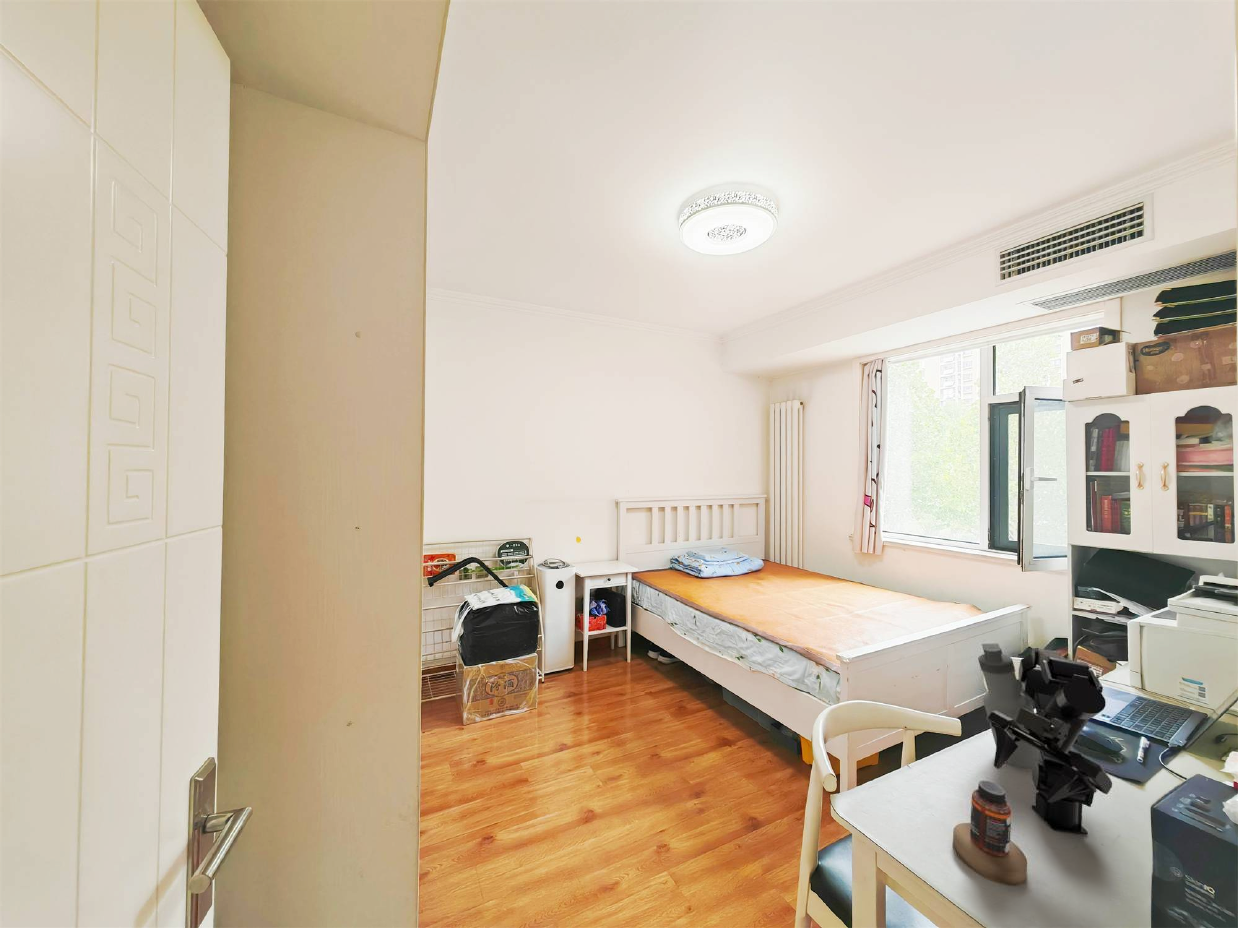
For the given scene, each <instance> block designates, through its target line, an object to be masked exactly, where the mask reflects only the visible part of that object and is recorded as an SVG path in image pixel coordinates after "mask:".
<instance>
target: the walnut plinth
mask: <svg viewBox="0 0 1238 928" xmlns="http://www.w3.org/2000/svg"><path fill="white" fill-rule="evenodd" d="M970 824H971V822H961V823H958V824H956V825H955V826H954V827H953V829H952V831H953V832H952V833H953V834H952V847H953V850H954V852H955V855H957V856H958V858H959V859H960V861H962V862H963V863H964V864H965V865H966V866H967V867H968V868H970V869H971V870H972V871H974V872H975V873H977V874H979V875H980V876H982V877H984V878H985V879H988V880H990V881H992V882H994V883H998V884H1001V885H1006V886H1019V885H1022V884H1024V883H1025V882H1026V880H1027V877H1028V876H1027V875H1028V860H1027V857H1026V855H1025V854H1024V852H1023V851H1022V850H1021V848H1020V847H1019V846H1018V845H1017V844H1016V843H1014V842H1013V841H1012V840H1011V839H1010V850H1009V854H1008V855H1007V856H1004V857H998V856H994V855H991V854H989V853H987V852H985V851H983V850H982V849H980V848H979V847H978V846H977V845H976V844H975V843H974V842H973V841H972V839H971V836H970Z"/></svg>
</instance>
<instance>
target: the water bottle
mask: <svg viewBox="0 0 1238 928" xmlns="http://www.w3.org/2000/svg"><path fill="white" fill-rule="evenodd" d="M981 646H982V650H983V654H981V655H979V656H978V658H977V659H978V663H979V668H980V670H981V671H982V674H983V677H984V681H985V685H986V687H987V691H986V693H985V694H984V695H983V697H982V698H983V704H984V708H985V711H986V715H987V716H988V715H989V713H990V712H992V711H998V712H1000V713H1002V714H1004V715H1006V716H1007V717H1009V718H1011V719H1013V720H1014V721H1015V719H1016V716H1017V713H1018V711H1019V708H1020V707H1022V708H1024V709H1026V710H1029V711H1031V712H1033V713H1035V709H1034V707H1033V703H1032V701H1031V699H1030V697H1029V696H1028V695H1027V696H1026V695H1025V694H1024V693H1022V692H1021V691H1020V690H1021V689H1020V686H1019V683H1018V682H1019V681H1018V680H1017V679H1018V678H1017V676H1016V669H1015V665H1014V661H1013V658H1012V656H1010V655H1007V654H1004V653H1003V651H1002V648H1001V647H1000V645H999V643H997V642H995V643H982V644H981ZM987 716H986V717H987ZM1016 724H1017V725H1018V726H1019V727H1020V728H1021V730H1023V731H1025V732H1027V733H1029V731H1028V730H1026V729H1025V728H1024V727H1023V726H1024V725H1020V724H1018V723H1016ZM989 726H990V729H991V733H992V737H993V740H994V744H995V746H996V745H997V736H996V732H995V731H994V729H993V728H992V727H991V724H990V723H989ZM1034 742H1035V741H1034ZM1015 743H1016V744H1017V745H1018V748H1017V749H1016V750H1015V751H1014V752H1013V754H1012V755H1011V756H1010V757H1009V758H1008V760H1007V761H1006V762H1005V763H1008V764H1010V765H1011V766H1015V767H1019V768H1024V769H1032V767H1033V765H1034V763H1035V762H1036V760H1037V761H1038V759H1039V754H1040V750H1038V749H1037V748H1035V747H1033V746H1031V745H1029V744H1028V743H1026V742H1024V741H1022V740H1021V741H1018V742H1015ZM1035 743H1036V742H1035ZM1036 744H1038V743H1036ZM1038 745H1040V744H1038ZM1040 746H1041V745H1040Z"/></svg>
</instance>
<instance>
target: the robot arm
mask: <svg viewBox="0 0 1238 928" xmlns="http://www.w3.org/2000/svg"><path fill="white" fill-rule="evenodd" d="M1017 675H1018V682H1019V683H1022V688H1023V692H1024V693H1025V694H1026V695H1027V697H1028V698H1031V699H1032V700H1033V702H1034V705H1035V712H1034V713H1033V712H1031V711H1029V710H1026V709H1024V708H1022V707H1020V708H1019V711H1018V713H1017V716H1016V719H1015V721H1014V720H1013V719H1011V718H1009V717H1007V716H1006V715H1004V714H1002V713H1000V712H998V711H992V712H990V713H989V715H988V716H986V718H985V719H986V721H987V722H989V725H990V724H991V726H990V728H991V727H992V728H993V729H994V731H995V732H996V736H997V745H996V744H995V753H994V754H995V755H994V762H993V766H994V767H995V769H997V770H998V769H1000V768H1001V767H1003V766H1004V764H1006V763H1007V762H1006V761H1007V760H1008V758H1009V757H1010V756H1011V755H1012V754H1013V752H1014V751H1015V750H1016V749H1017V748H1018V745H1017V744H1016V743H1015V742H1018V741H1021V740H1022V741H1024V742H1026V743H1028V744H1029V745H1031V746H1033V747H1035V748H1037V749H1038V750H1040V754H1039V759H1038V761H1037V760H1036V762H1035V763H1034V765H1033V767H1032V768H1031V780H1032V782H1033V784H1034V788H1035V790H1036V791H1037V792H1036V793H1035V801H1034V802H1035V803H1034V804H1031V809H1032V810H1033V811H1034V812H1035V813H1036V814H1037V815H1038V816H1039V817H1040V819H1042V820H1043V821H1044V822H1045V823H1046V824H1047V826H1049V827H1050V829H1052V830H1053V831H1056V832H1057V831H1058V832H1064V833H1072V834H1073V833H1074V834H1080V835H1088V834H1089V831H1088V830H1087V829H1086V828H1085V827H1084V826H1083V825H1082V824H1083V823H1082V822H1083V806H1086V807H1088V808H1092V807H1091V806H1092V804H1093V801H1094V795H1095V794H1096V793H1097V791H1099V792H1101V793H1103V794H1104V795H1108V794H1109V792H1110V791H1111V789H1112V788H1113V782H1112V780H1111V778H1110V776H1109V774H1107V772H1106V771H1105V770H1104V768H1103V767H1102V766H1101V765H1100V764H1098V763H1096V762H1095V761H1092V760H1091V759H1089V758H1087V757H1086V756H1082V754H1081V753H1080V752H1078V751H1073V750H1072V749H1071V748H1072V747H1073V745H1074V744H1075V742H1076V743H1078V744H1079V743H1081V741H1082V738H1081V736H1080V734H1081V732H1082V731H1083V730H1084V728H1085V726H1086V725H1087V723H1088V722H1089V720H1090V719H1092V718H1094V717H1096V716H1097V715H1098V714H1100V713H1101V712H1103V710H1104V709H1105V707H1106V706H1107V705H1106V703H1107V702H1106V698H1105V697H1104V695H1103V688H1104V686H1103V685H1102V683H1101V681H1100V680H1099V678H1098V677H1097V676H1096V674H1095V672H1094V670H1093V669H1091V668H1090V666H1089V665H1088V664H1087V662H1083V661H1078V660H1072V659H1067V658H1065V657H1063V655H1062V654H1061V653H1059V652H1058V651H1054V650H1049V649H1043V648H1038V647H1037V648H1032V650H1031V654H1029V655H1027V656H1025V657H1023V658H1021V659H1020V662H1019V667H1018V674H1017ZM1016 723H1018V724H1020V725H1024V726H1023V727H1024V728H1025V729H1026V730H1028V731H1029V733H1027V732H1025V731H1023V730H1021V728H1020V727H1019V726H1018V725H1017V724H1016ZM1034 741H1035V742H1036V743H1038V744H1040V745H1041V746H1040V745H1038V744H1036V743H1035V742H1034Z"/></svg>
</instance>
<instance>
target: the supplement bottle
mask: <svg viewBox="0 0 1238 928" xmlns="http://www.w3.org/2000/svg"><path fill="white" fill-rule="evenodd" d="M970 803H971V805H970V823H971V824H970V836H971V839H972V841H973V842H974V843H975V844H976V845H977V846H978V847H979V848H980V849H982V850H983V851H985V852H987V853H989V854H991V855H994V856H998V857H1004V856H1007V855H1008V854H1009V850H1010V840H1011V831H1012V830H1011V829H1012V827H1011V824H1012V807H1011V805H1010V803H1009V802H1008V801H1007V799H1006V790H1005V789H1004V788H1003V787H1002V786H1000V785H999V784H997V783H995V782H992V781H990V780H985V779H983V780H980V781H978V788H977V789H975V790H973V791H972V793H971V802H970Z"/></svg>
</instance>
